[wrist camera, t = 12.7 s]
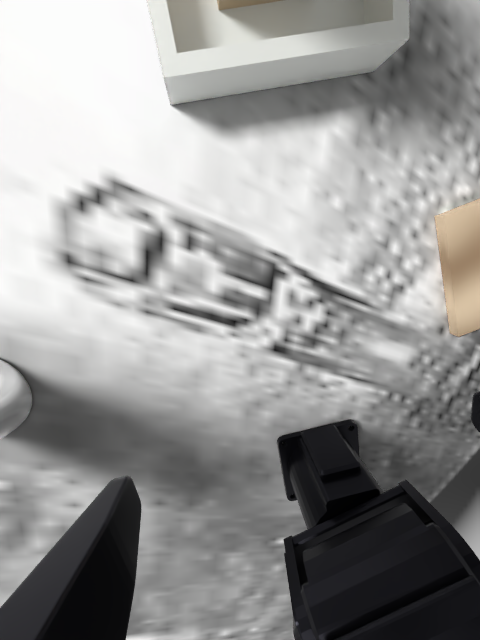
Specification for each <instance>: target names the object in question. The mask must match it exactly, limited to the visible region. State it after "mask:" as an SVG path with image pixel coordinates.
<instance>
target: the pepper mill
mask: <svg viewBox="0 0 480 640" xmlns="http://www.w3.org/2000/svg"><path fill="white" fill-rule="evenodd" d="M277 1H284V0H217V4H218V10H225V9H232V8H238V7H245V6H251V5H258V4H264V3H271V2H277Z"/></svg>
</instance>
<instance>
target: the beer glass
mask: <svg viewBox="0 0 480 640" xmlns="http://www.w3.org/2000/svg"><path fill="white" fill-rule="evenodd" d="M31 406H32V393H31V390H30V387H29V385H28V383H27V381H26V380H25V378H24V377H23V376H22V374H21V373H20V372H19V371H18V370H16V369H15V368H14V367H13V366H11V365H10V364H8V363H7V362H5V361H3V360H1V359H0V440H1V439H2V438H3V437H5V436H6V435H8V434H9V433H11V432H12V431H13V430H15V429H16V428H17V427H18V426H19V425H20V424H22V423H23V421H24V420H25V419H26V418H27V416H28V414H29V412H30V410H31Z"/></svg>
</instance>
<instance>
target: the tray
mask: <svg viewBox="0 0 480 640" xmlns="http://www.w3.org/2000/svg"><path fill="white" fill-rule="evenodd" d="M147 5H148V9H149V14H150V18H151V23H152V27H153V32H154V36H155V41H156V46H157V50H158V55H159V59H160V64H161V68H162V73H163V78H164V81H165V85H166V89H167V93H168V97H169V101H170V105H175V104H181V103H187V102H193V101H199V100H205V99H211V98H217V97H223V96H229V95H235V94H241V93H247V92H253V91H260V90H266V89H272V88H278V87H284V86H290V85H296V84H302V83H308V82H314V81H320V80H326V79H332V78H338V77H344V76H351V75H357V74H363V73H369V72H374V71H375V70H376V69H377V68H378V67H379V66H380V65H381V64H383V63H384V62H385V61H386V60H387V59H388V58H389V57H390V56H391V55H392V54H393V53H395V52H396V51H397V50H398V49H399V48H400V47H401V46H402V45H403V44H404V43H405V42H406V41H408V40H409V20H410V0H284V1H277V2H271V3H264V4H258V5H251V6H245V7H238V8H232V9H225V10H218V4H217V0H147Z"/></svg>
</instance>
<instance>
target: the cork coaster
mask: <svg viewBox="0 0 480 640" xmlns="http://www.w3.org/2000/svg"><path fill="white" fill-rule="evenodd" d="M435 223H436V230H437V238H438V246H439V253H440V261H441V269H442V276H443V284H444V292H445V299H446V307H447V314H448V322H449V330H450V334H453V335H455V336H458V337H460V336H462V335H465V334H467V333H470V332H472V331H475V330H478V329H480V199H477V200H475V201H472V202H470V203H467V204H465V205H462V206H460V207H457V208H455V209H452V210H450V211H447V212H444V213H442V214H439V215H437V216H435Z"/></svg>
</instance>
